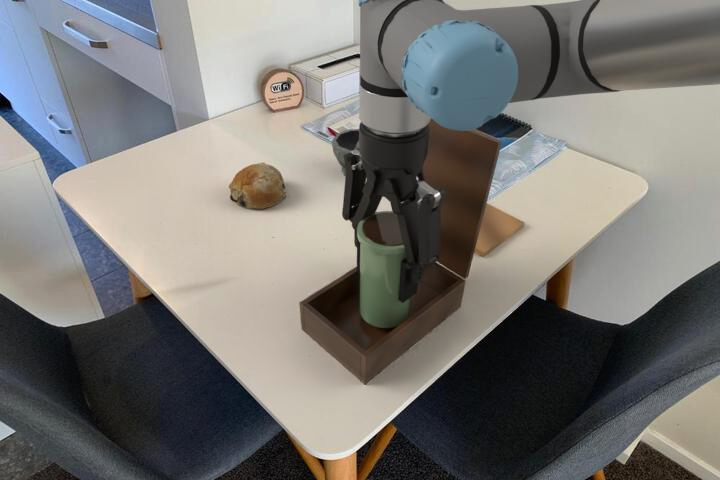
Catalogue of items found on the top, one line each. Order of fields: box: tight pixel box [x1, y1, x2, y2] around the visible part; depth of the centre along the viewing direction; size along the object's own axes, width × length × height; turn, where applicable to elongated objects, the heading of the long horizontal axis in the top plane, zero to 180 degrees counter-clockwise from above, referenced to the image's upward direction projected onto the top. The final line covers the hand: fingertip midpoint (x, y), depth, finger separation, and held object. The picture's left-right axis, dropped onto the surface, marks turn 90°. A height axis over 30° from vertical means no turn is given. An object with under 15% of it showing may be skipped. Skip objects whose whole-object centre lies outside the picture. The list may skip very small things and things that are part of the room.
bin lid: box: [405, 118, 503, 280], centre depth 71 cm, size 20×13×5 cm
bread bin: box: [299, 262, 467, 385], centre depth 73 cm, size 20×13×5 cm, turn 134°
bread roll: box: [228, 162, 288, 210], centre depth 96 cm, size 10×10×8 cm
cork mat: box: [474, 203, 525, 258], centre depth 91 cm, size 12×12×1 cm
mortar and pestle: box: [331, 128, 367, 178], centre depth 102 cm, size 11×9×12 cm
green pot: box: [357, 210, 411, 328], centre depth 68 cm, size 8×8×14 cm
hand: (386, 281), depth 69 cm, fingers closed on green pot, 7 cm apart
